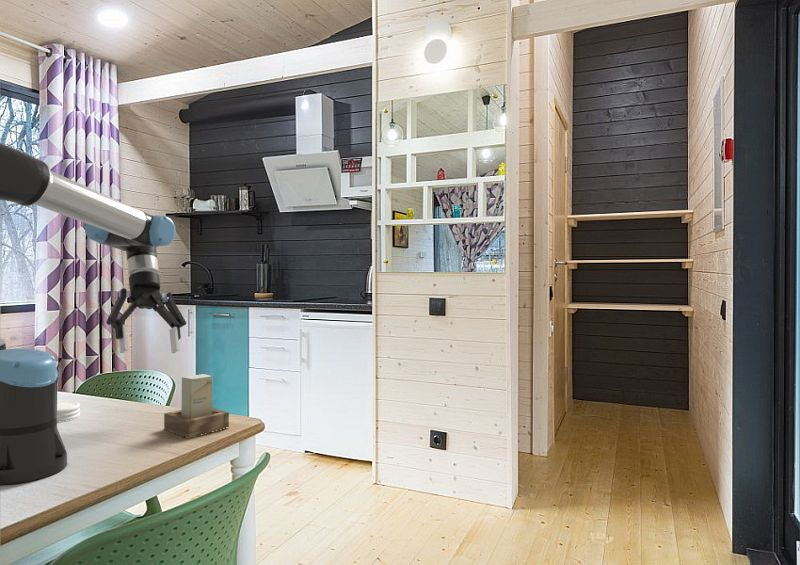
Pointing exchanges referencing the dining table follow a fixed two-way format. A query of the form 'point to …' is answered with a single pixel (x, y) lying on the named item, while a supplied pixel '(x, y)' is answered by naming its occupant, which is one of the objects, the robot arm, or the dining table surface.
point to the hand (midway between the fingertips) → (150, 351)
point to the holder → (195, 423)
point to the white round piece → (67, 410)
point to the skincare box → (196, 396)
